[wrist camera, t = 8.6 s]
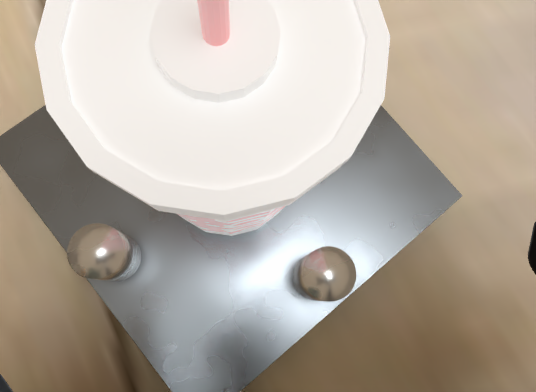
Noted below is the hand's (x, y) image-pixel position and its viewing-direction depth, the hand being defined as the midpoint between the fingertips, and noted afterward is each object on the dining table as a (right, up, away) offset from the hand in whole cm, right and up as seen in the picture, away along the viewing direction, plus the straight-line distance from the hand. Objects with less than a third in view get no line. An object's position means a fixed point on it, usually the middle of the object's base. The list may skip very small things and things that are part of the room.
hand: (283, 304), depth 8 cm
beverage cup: (-2, +3, +9) cm, 10 cm away
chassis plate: (-2, +2, +10) cm, 11 cm away
